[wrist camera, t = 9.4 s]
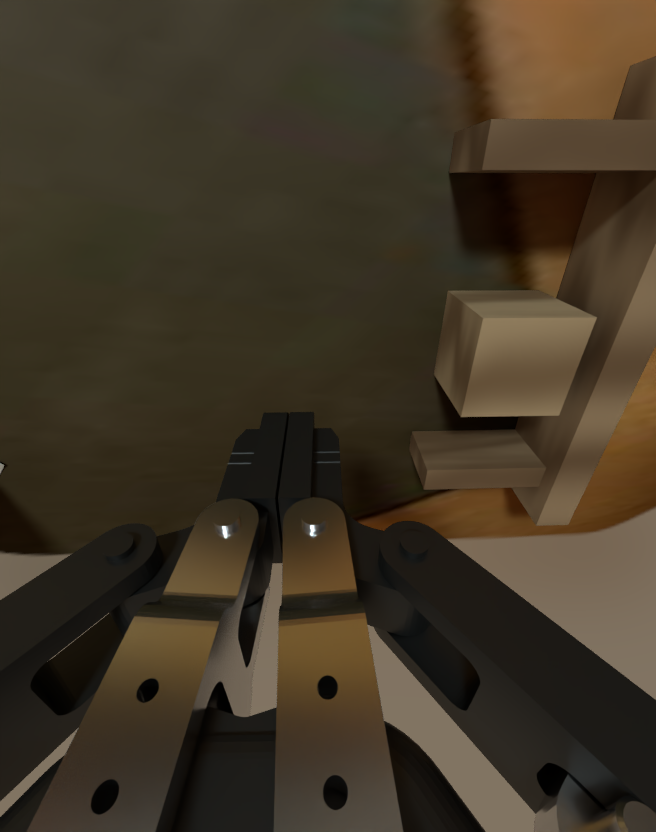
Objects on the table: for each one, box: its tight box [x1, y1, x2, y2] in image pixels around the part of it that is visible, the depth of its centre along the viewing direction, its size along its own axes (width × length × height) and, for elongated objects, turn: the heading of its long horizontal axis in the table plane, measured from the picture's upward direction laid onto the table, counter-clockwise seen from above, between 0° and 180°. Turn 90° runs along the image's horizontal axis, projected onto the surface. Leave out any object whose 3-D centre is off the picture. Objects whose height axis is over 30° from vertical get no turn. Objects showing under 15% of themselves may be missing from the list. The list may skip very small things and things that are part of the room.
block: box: [434, 290, 597, 417], centre depth 20 cm, size 5×5×5 cm
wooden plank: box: [409, 56, 656, 526], centre depth 19 cm, size 22×9×5 cm, turn 0°
